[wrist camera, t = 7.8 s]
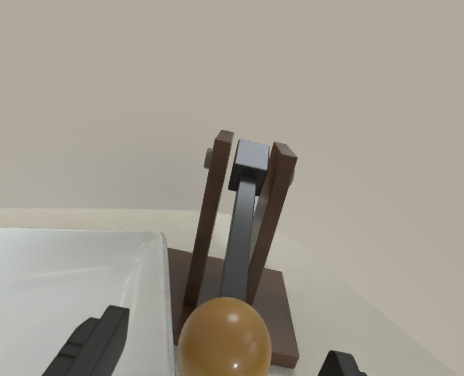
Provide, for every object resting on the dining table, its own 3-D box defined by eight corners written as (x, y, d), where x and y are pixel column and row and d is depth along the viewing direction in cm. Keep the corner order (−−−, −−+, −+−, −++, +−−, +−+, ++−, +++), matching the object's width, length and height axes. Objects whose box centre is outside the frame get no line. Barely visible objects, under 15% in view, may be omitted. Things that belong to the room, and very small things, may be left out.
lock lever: (255, 420, 10) (284, 412, 8) (165, 402, 10) (163, 388, 8) (268, 178, 20) (282, 140, 18) (222, 168, 20) (230, 128, 18)
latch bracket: (294, 369, 18) (373, 182, 13) (121, 334, 18) (140, 130, 13) (278, 281, 26) (323, 148, 22) (161, 256, 26) (181, 116, 21)
